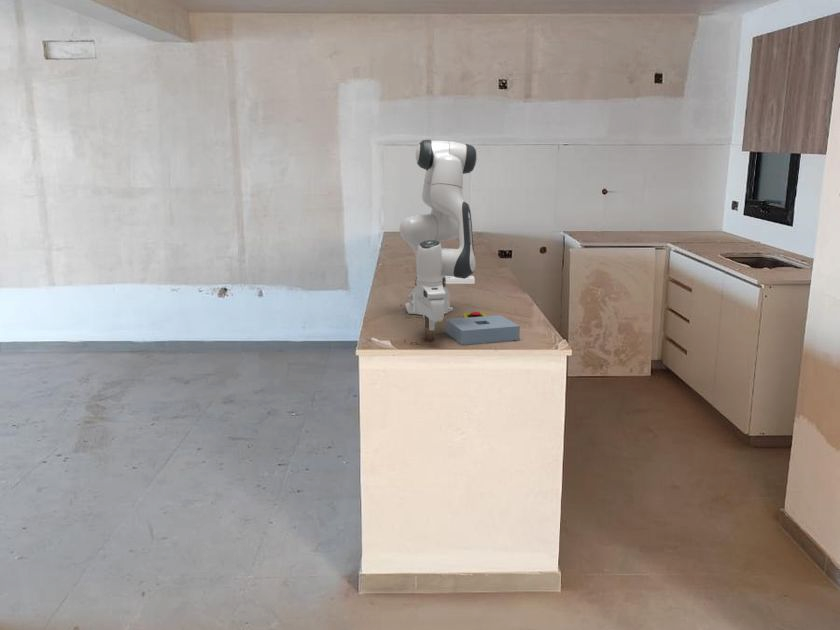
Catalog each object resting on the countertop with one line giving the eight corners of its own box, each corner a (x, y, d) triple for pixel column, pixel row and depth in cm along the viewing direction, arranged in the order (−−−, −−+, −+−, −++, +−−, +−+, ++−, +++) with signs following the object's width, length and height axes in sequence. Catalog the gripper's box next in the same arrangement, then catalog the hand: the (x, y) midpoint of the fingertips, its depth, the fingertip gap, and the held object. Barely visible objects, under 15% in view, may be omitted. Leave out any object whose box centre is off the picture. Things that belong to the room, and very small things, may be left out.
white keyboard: (434, 268, 397) (435, 263, 396) (468, 268, 397) (468, 263, 396) (437, 284, 353) (437, 279, 352) (474, 284, 353) (474, 279, 352)
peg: (423, 339, 255) (423, 313, 253) (432, 338, 256) (432, 313, 254) (426, 341, 252) (426, 315, 250) (435, 340, 253) (435, 315, 251)
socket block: (445, 332, 264) (445, 319, 263) (500, 328, 270) (500, 315, 268) (461, 345, 248) (462, 330, 247) (519, 340, 254) (519, 326, 253)
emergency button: (486, 309, 283) (490, 318, 268) (485, 320, 284) (490, 330, 269) (461, 309, 283) (464, 318, 268) (461, 320, 284) (464, 330, 269)
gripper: (412, 283, 259) (412, 321, 262) (429, 295, 240) (429, 336, 243) (429, 282, 261) (429, 320, 264) (447, 294, 242) (447, 334, 245)
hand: (429, 328), depth 253 cm, fingers closed on peg, 3 cm apart
